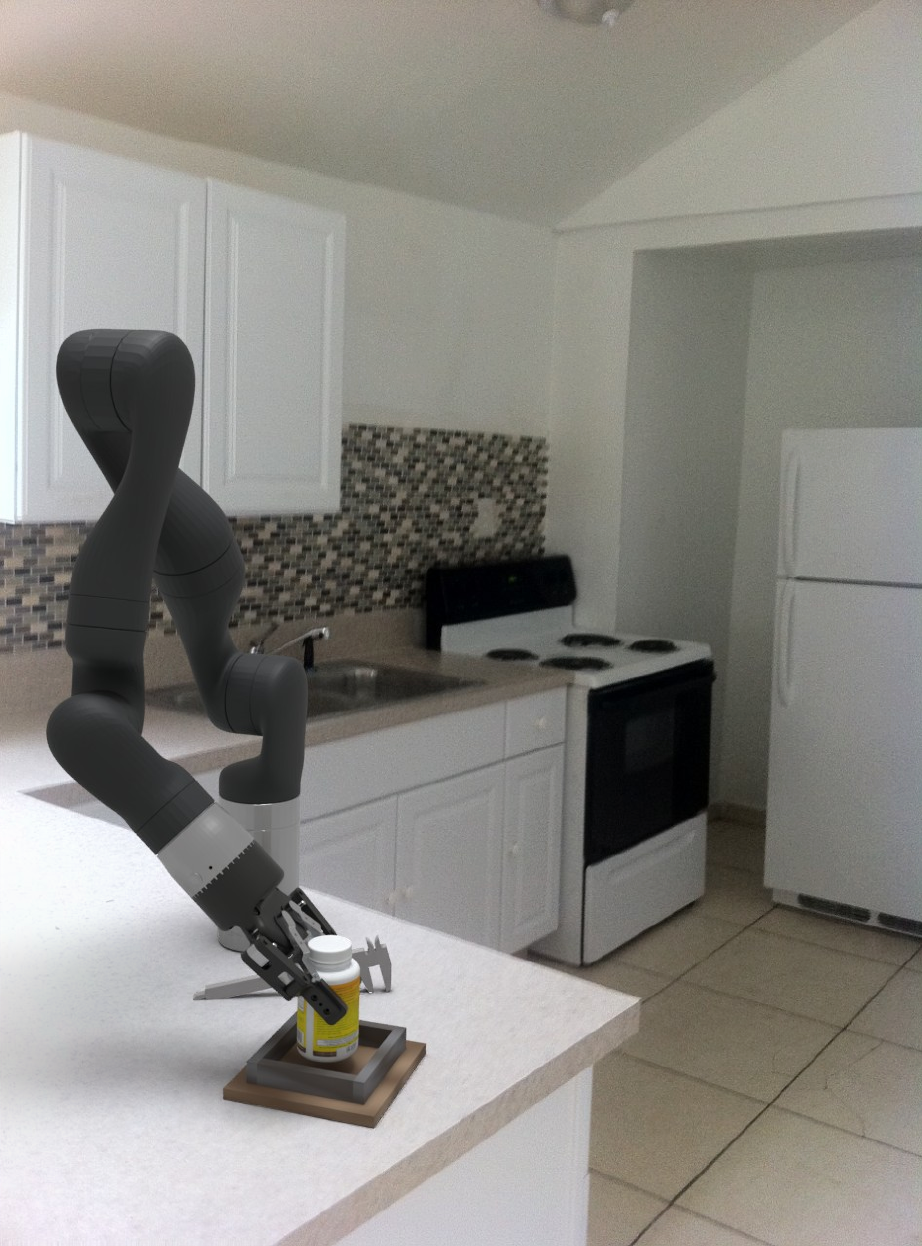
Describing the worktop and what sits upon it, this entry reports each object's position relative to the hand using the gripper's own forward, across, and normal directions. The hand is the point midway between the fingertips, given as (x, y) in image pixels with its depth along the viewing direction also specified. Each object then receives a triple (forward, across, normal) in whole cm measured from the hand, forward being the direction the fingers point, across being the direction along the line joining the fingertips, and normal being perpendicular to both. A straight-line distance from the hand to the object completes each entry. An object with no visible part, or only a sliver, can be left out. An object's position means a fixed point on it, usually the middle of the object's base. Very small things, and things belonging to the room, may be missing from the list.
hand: (347, 1002), depth 113 cm
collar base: (+4, 0, +6) cm, 7 cm away
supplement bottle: (+2, 0, +5) cm, 5 cm away
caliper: (-1, +16, +12) cm, 20 cm away
